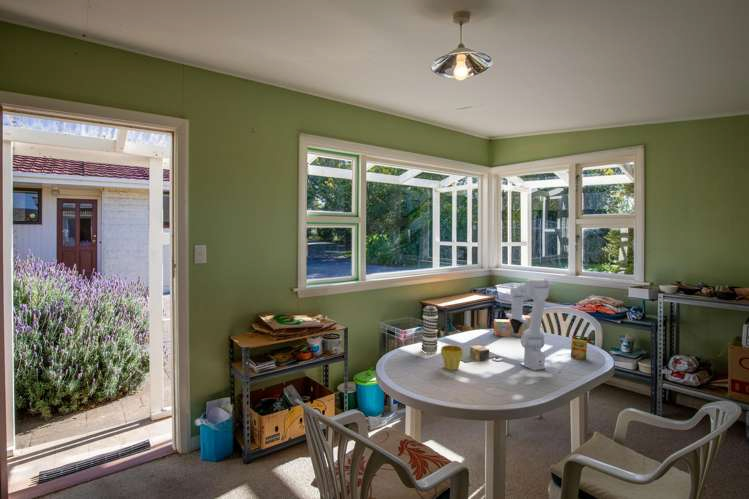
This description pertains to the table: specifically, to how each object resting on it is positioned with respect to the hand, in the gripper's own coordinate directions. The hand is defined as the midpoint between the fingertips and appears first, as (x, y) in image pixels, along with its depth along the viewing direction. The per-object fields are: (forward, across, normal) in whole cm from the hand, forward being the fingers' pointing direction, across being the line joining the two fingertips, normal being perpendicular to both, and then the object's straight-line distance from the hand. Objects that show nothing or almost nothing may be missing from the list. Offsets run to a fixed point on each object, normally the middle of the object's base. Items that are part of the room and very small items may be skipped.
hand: (516, 333), depth 230 cm
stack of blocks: (+11, +25, -21) cm, 34 cm away
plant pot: (+11, -6, +46) cm, 48 cm away
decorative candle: (+11, +18, +44) cm, 49 cm away
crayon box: (+11, -21, -24) cm, 33 cm away
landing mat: (+10, +6, +25) cm, 28 cm away
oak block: (+8, -5, +25) cm, 27 cm away
